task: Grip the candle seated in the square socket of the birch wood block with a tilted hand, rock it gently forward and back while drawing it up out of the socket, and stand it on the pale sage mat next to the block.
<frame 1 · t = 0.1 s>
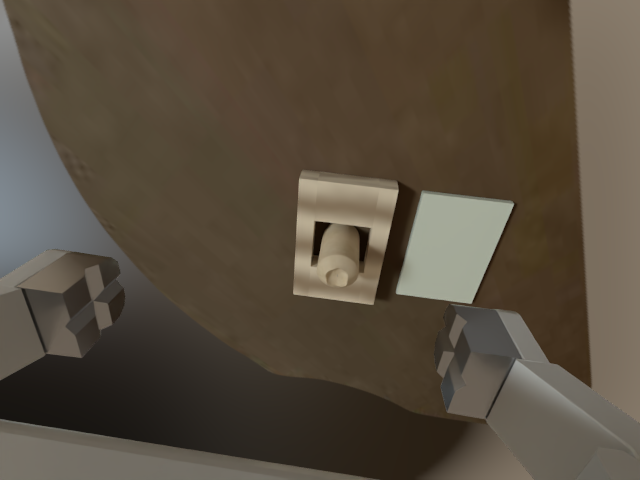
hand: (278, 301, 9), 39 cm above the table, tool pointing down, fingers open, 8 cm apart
socket block: (341, 236, 54), on the table
sage mat: (448, 250, 53), on the table
candle: (341, 236, 54), resting in socket block
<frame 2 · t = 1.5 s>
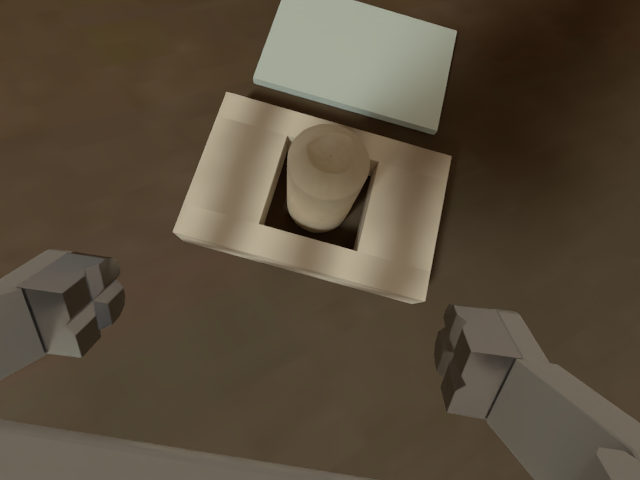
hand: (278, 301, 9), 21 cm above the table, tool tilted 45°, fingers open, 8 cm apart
socket block: (317, 203, 32), on the table
sage mat: (358, 59, 36), on the table
candle: (317, 204, 32), resting in socket block
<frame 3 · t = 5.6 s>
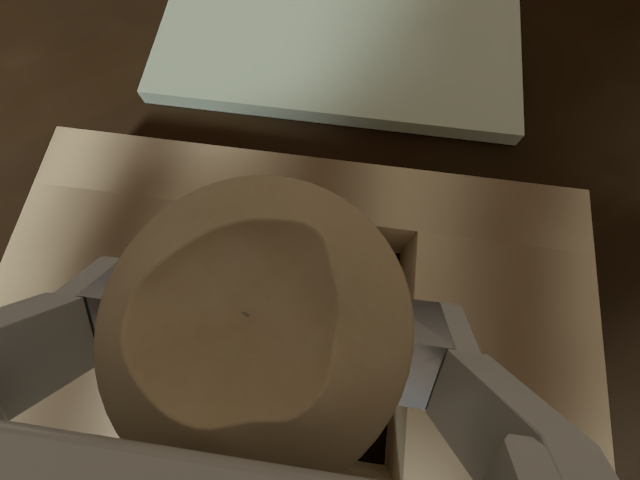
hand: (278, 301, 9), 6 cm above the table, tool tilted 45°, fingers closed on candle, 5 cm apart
socket block: (292, 336, 14), on the table
sage mat: (340, 27, 19), on the table
candle: (293, 336, 14), resting in socket block, touching gripper
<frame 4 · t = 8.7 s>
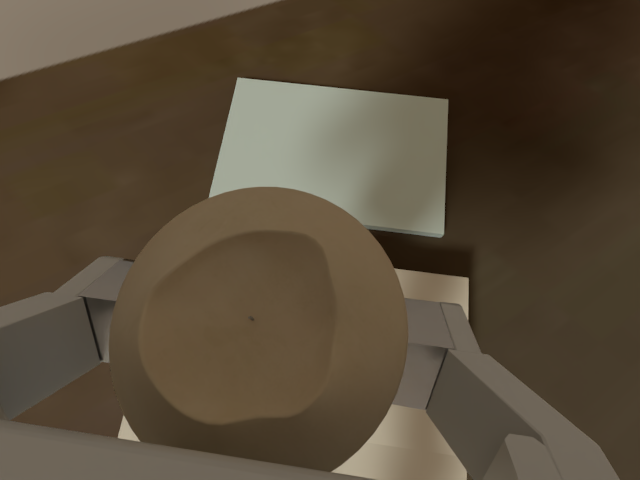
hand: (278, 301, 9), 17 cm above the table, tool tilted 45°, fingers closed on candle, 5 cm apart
socket block: (305, 358, 25), on the table
sage mat: (332, 155, 29), on the table
candle: (294, 337, 15), point 11 cm above the table, touching gripper
when the fingers open (8 cm above the table, at t = 11.8 s): candle stays where it is, resting on sage mat.
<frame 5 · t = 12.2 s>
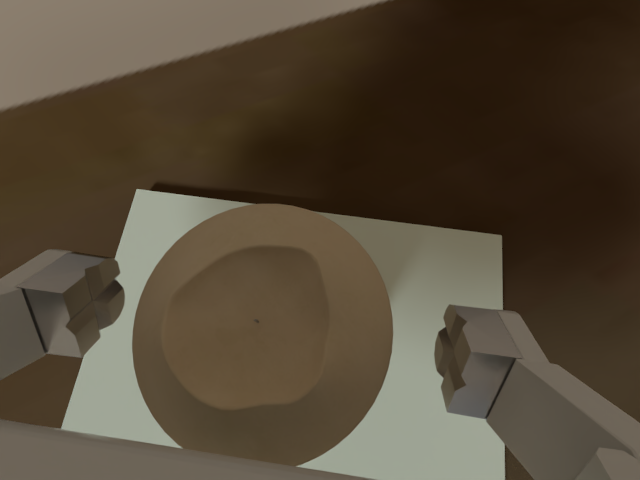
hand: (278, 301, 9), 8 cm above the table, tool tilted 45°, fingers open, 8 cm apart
sage mat: (297, 338, 16), on the table
candle: (294, 337, 16), point 1 cm above the table, touching sage mat
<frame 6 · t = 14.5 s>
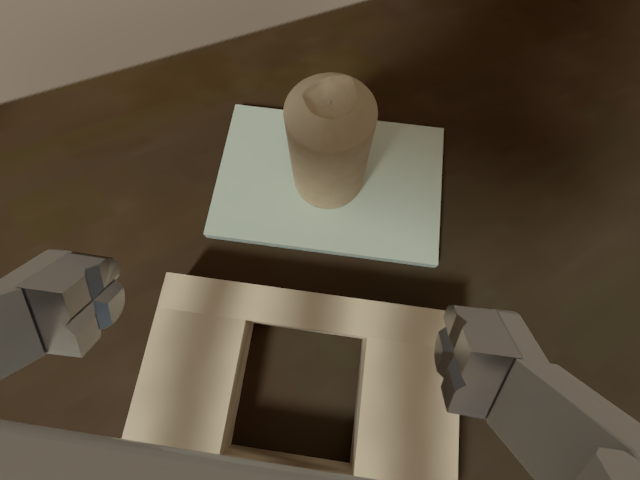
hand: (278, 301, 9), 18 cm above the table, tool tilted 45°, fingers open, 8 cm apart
socket block: (299, 389, 25), on the table
sage mat: (329, 183, 30), on the table
candle: (328, 179, 29), point 1 cm above the table, touching sage mat
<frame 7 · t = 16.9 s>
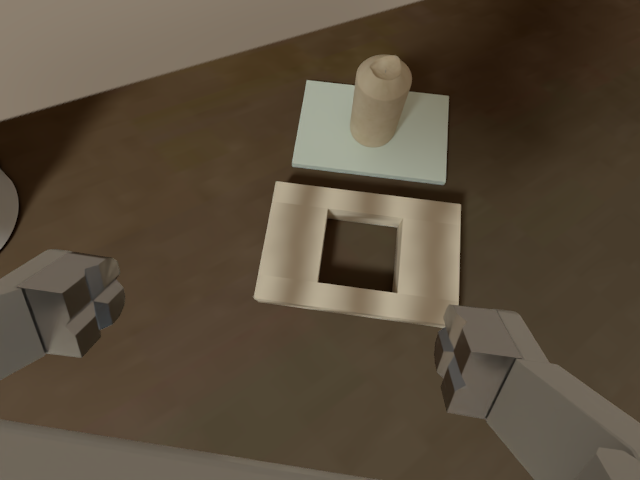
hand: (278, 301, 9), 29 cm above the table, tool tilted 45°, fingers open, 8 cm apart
socket block: (358, 256, 39), on the table
sage mat: (372, 132, 44), on the table
candle: (372, 129, 44), point 1 cm above the table, touching sage mat
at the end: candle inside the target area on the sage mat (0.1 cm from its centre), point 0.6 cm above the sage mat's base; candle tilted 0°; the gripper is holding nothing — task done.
